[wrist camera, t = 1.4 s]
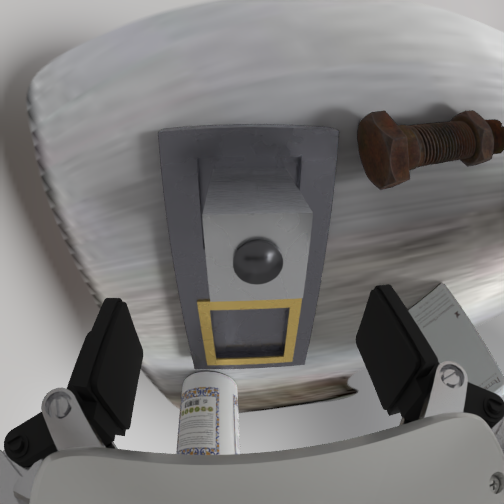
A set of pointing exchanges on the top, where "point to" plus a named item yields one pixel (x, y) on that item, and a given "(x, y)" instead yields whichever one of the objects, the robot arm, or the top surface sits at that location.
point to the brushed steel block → (255, 235)
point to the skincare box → (456, 338)
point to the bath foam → (208, 415)
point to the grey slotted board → (193, 247)
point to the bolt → (424, 144)
